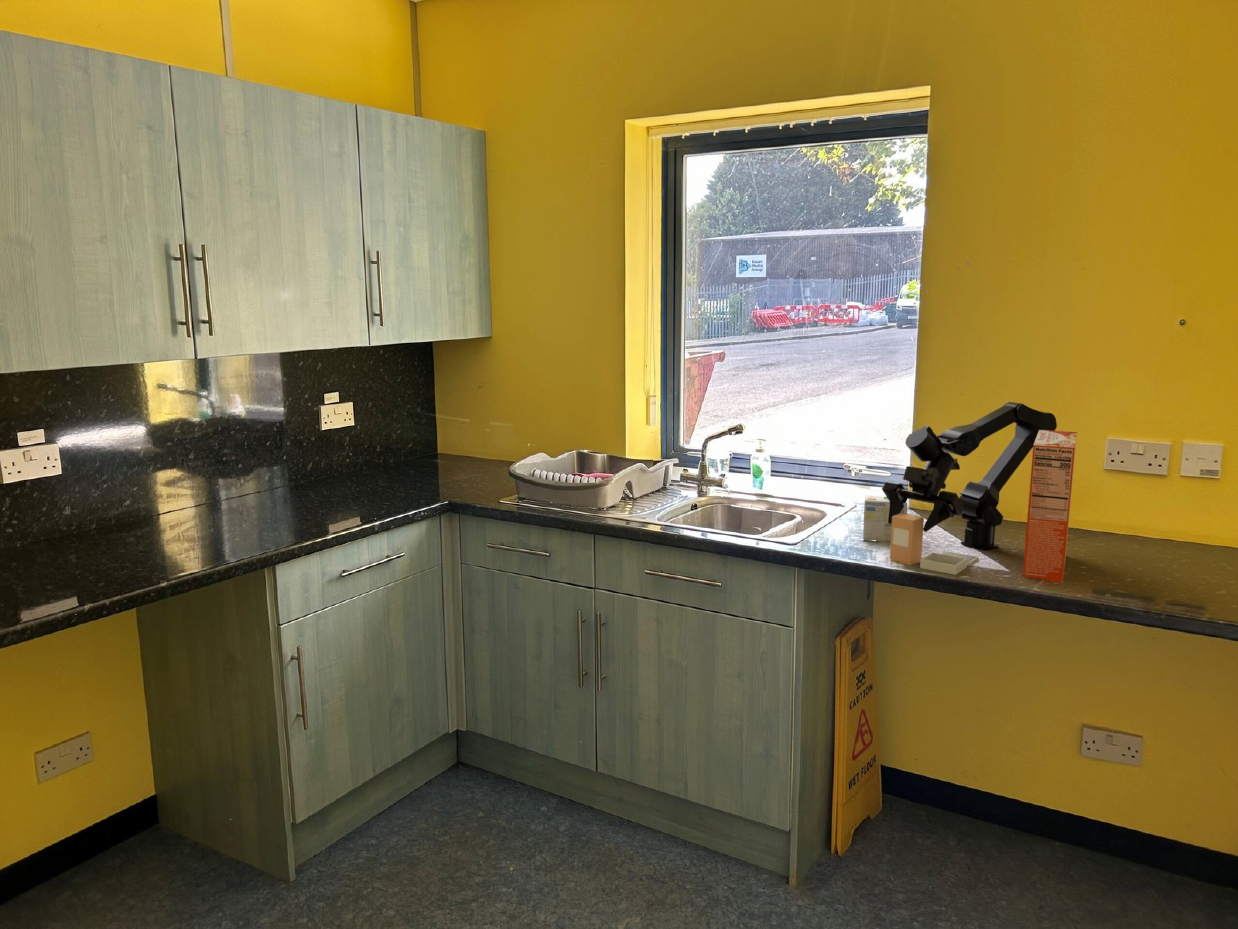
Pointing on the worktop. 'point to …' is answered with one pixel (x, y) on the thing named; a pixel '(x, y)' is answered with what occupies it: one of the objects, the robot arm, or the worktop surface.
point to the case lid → (969, 558)
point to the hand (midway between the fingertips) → (906, 526)
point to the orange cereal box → (1049, 505)
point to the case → (943, 563)
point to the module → (906, 538)
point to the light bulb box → (878, 518)
